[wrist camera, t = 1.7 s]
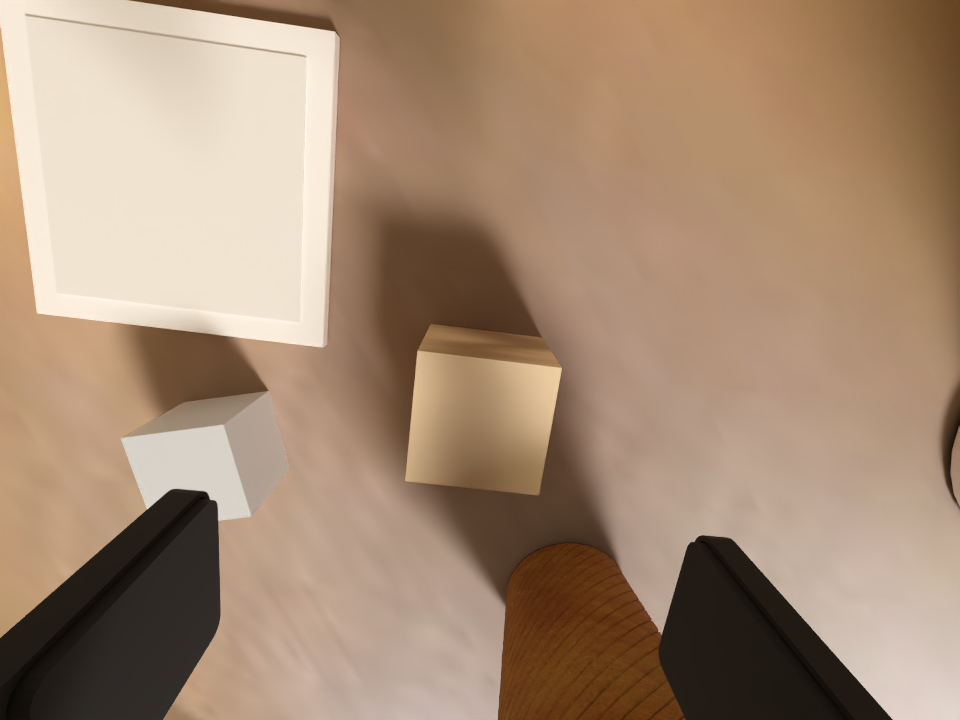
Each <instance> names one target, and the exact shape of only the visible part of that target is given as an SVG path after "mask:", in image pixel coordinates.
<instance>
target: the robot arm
mask: <svg viewBox="0 0 960 720" xmlns="http://www.w3.org/2000/svg"><path fill="white" fill-rule="evenodd" d="M951 479H952V485H953V492H954V495H955V497H956V500H957V502H958V504H959V507H960V425H959V427H958V431H957V434H956V438H955V442H954V445H953V449H952V459H951ZM219 621H220V574H219V534H218V505H217V502H216V501H215V500H210V497H209V495H208V493H207V492H205V491H197V490H185V489H171V490H170V491H168V492H167V493H166V494H164V495H163V496H162V497H161V498H160V499H159V500H158V501H156V502H155V503H154V504H153V505H152V506H151V507H150V508H148V509H147V510H146V511H145V512H144V513H143V514H142V515H140V516H139V517H138V518H137V519H136V520H135V521H134V522H132V523H131V524H130V525H129V526H128V527H127V528H126V529H124V530H123V531H122V532H121V533H120V534H119V535H118V536H116V537H115V538H114V539H113V540H112V541H111V542H110V543H108V544H107V545H106V546H105V547H104V548H103V549H102V550H100V551H99V552H98V553H97V554H96V555H95V556H94V557H92V558H91V559H90V560H89V561H88V562H87V563H86V564H84V565H83V566H82V567H81V568H80V569H79V570H78V571H76V572H75V573H74V574H73V575H72V576H71V577H70V578H68V579H67V580H66V581H65V582H64V583H63V584H62V585H60V586H59V587H58V588H57V589H56V590H55V591H54V592H52V593H51V594H50V595H49V596H48V597H47V598H46V599H44V600H43V601H42V602H41V603H40V604H39V605H38V606H36V607H35V608H34V609H33V610H32V611H31V612H30V613H28V614H27V615H26V616H25V617H24V618H23V619H22V620H20V621H19V622H18V623H17V624H16V625H15V626H14V627H12V628H11V629H10V630H9V631H8V632H7V633H6V634H4V635H3V636H2V637H1V638H0V720H163V718H164V717H165V715H166V714H167V712H168V710H169V709H170V707H171V706H172V704H173V702H174V701H175V699H176V697H177V696H178V694H179V693H180V691H181V689H182V688H183V686H184V684H185V683H186V681H187V680H188V678H189V676H190V675H191V673H192V671H193V670H194V668H195V667H196V665H197V663H198V662H199V660H200V659H201V657H202V655H203V654H204V652H205V650H206V649H207V647H208V646H209V644H210V642H211V641H212V639H213V637H214V635H215V633H216V631H217V628H218V625H219ZM659 660H660V664H661V667H662V669H663V672H664V674H665V676H666V678H667V680H668V682H669V685H670V687H671V689H672V691H673V693H674V695H675V698H676V700H677V702H678V704H679V706H680V708H681V711H682V713H683V715H684V717H685V719H686V720H892V719H891V717H890V716H889V715H888V714H887V713H886V712H885V711H884V710H883V708H882V707H881V706H880V705H879V704H878V703H877V702H876V700H875V699H874V698H873V697H872V696H871V695H870V694H869V693H868V691H867V690H866V689H865V688H864V687H863V686H862V685H861V684H860V682H859V681H858V680H857V679H856V678H855V677H854V676H853V675H852V673H851V672H850V671H849V670H848V669H847V668H846V667H845V666H844V664H843V663H842V662H841V661H840V660H839V659H838V658H837V657H836V655H835V654H834V653H833V652H832V651H831V650H830V649H829V648H828V646H827V645H826V644H825V643H824V642H823V641H822V640H821V639H820V637H819V636H818V635H817V634H816V633H815V632H814V631H813V630H812V628H811V627H810V626H809V625H808V624H807V623H806V622H805V621H804V619H803V618H802V617H801V616H800V615H799V614H798V613H797V612H796V610H795V609H794V608H793V607H792V606H791V605H790V604H789V603H788V601H787V600H786V599H785V598H784V597H783V596H782V595H781V594H780V592H779V591H778V590H777V589H776V588H775V587H774V586H773V585H772V583H771V582H770V581H769V580H768V579H767V578H766V577H765V576H764V574H763V573H762V572H761V571H760V570H759V569H758V568H757V567H756V565H755V564H754V563H753V562H752V561H751V560H750V559H749V558H748V556H747V555H746V554H745V553H744V552H743V551H742V550H741V548H740V547H739V546H738V545H737V544H736V543H735V542H734V541H733V540H732V539H730V538H725V537H714V536H703V535H702V536H699V537H698V538H697V539H696V540H695V542H691V543H690V544H689V545H688V547H687V550H686V553H685V557H684V560H683V564H682V567H681V571H680V574H679V577H678V581H677V584H676V588H675V591H674V595H673V598H672V602H671V605H670V609H669V612H668V616H667V619H666V623H665V626H664V630H663V633H662V637H661V640H660V644H659Z"/></svg>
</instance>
